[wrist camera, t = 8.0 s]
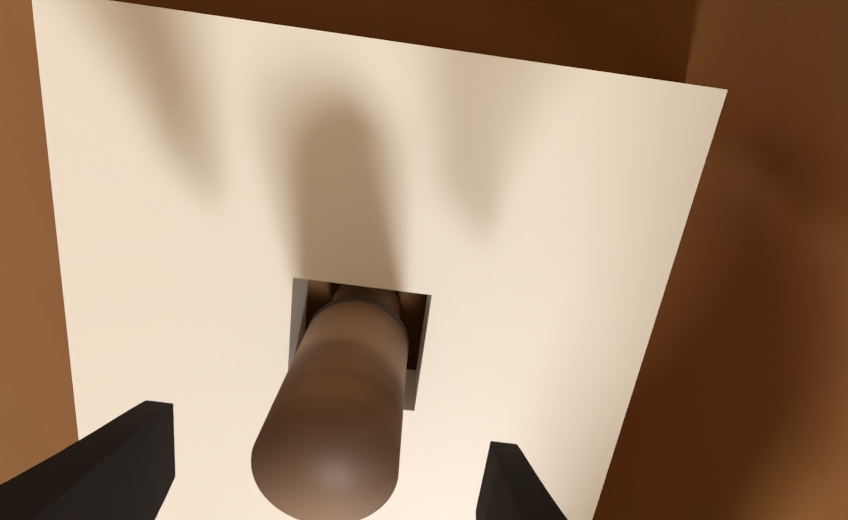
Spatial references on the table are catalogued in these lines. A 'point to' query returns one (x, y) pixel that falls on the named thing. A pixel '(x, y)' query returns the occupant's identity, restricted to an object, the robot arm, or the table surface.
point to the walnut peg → (338, 412)
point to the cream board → (358, 237)
